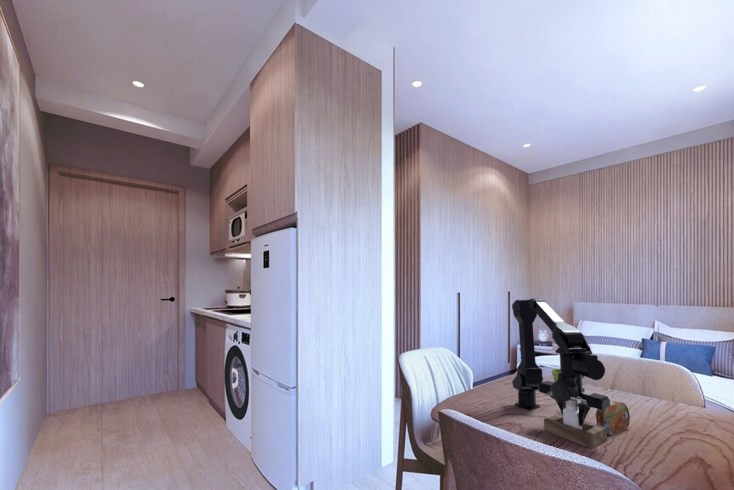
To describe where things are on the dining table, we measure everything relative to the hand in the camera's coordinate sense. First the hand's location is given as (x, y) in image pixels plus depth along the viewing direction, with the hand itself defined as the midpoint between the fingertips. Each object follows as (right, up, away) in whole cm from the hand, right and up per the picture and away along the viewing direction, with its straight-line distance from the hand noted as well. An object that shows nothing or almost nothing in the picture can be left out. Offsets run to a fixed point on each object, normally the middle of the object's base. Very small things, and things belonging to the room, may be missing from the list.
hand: (573, 422), depth 103 cm
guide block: (0, -3, -1) cm, 3 cm away
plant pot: (+21, -9, +40) cm, 46 cm away
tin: (+15, -4, +3) cm, 15 cm away
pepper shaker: (0, -3, 0) cm, 3 cm away
